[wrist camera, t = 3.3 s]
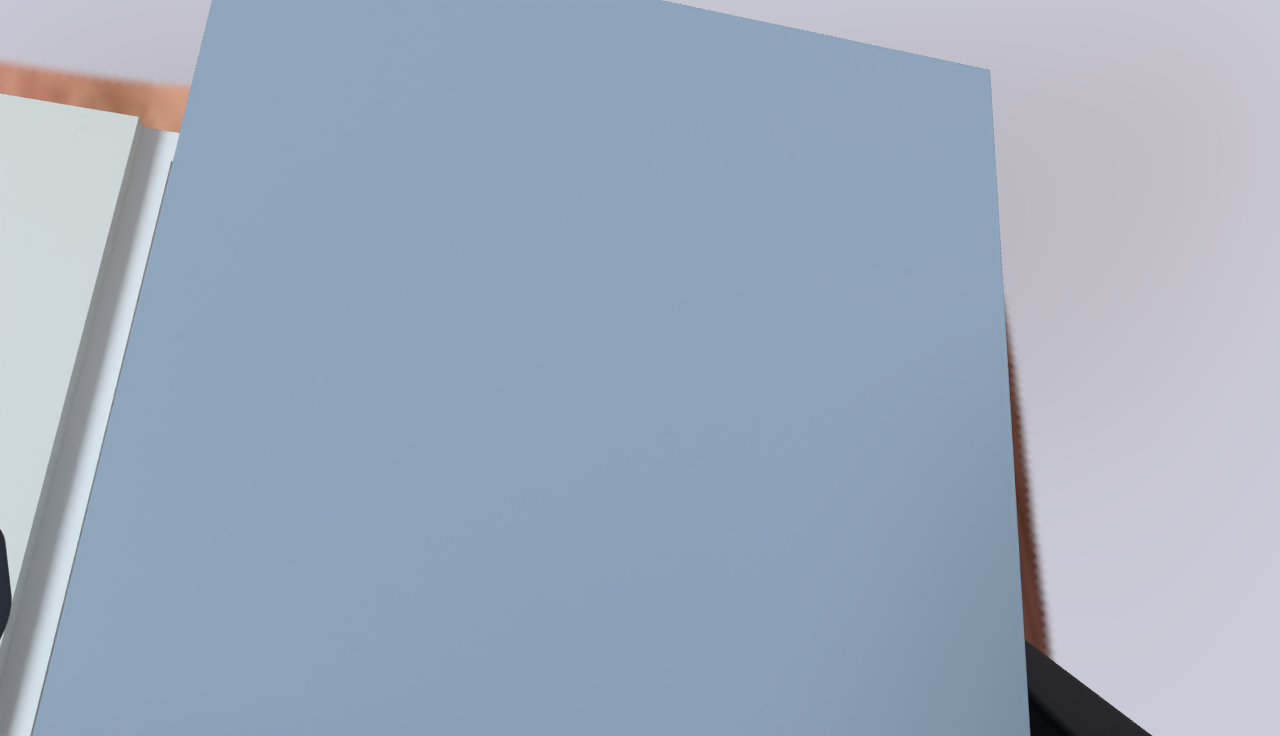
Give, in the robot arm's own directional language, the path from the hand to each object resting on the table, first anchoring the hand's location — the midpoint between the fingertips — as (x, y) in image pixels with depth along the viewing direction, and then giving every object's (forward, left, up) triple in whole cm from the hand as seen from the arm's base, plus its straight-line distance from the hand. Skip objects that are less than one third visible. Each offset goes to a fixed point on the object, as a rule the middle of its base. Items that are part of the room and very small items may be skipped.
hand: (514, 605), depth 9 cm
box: (+1, -1, -9) cm, 9 cm away
